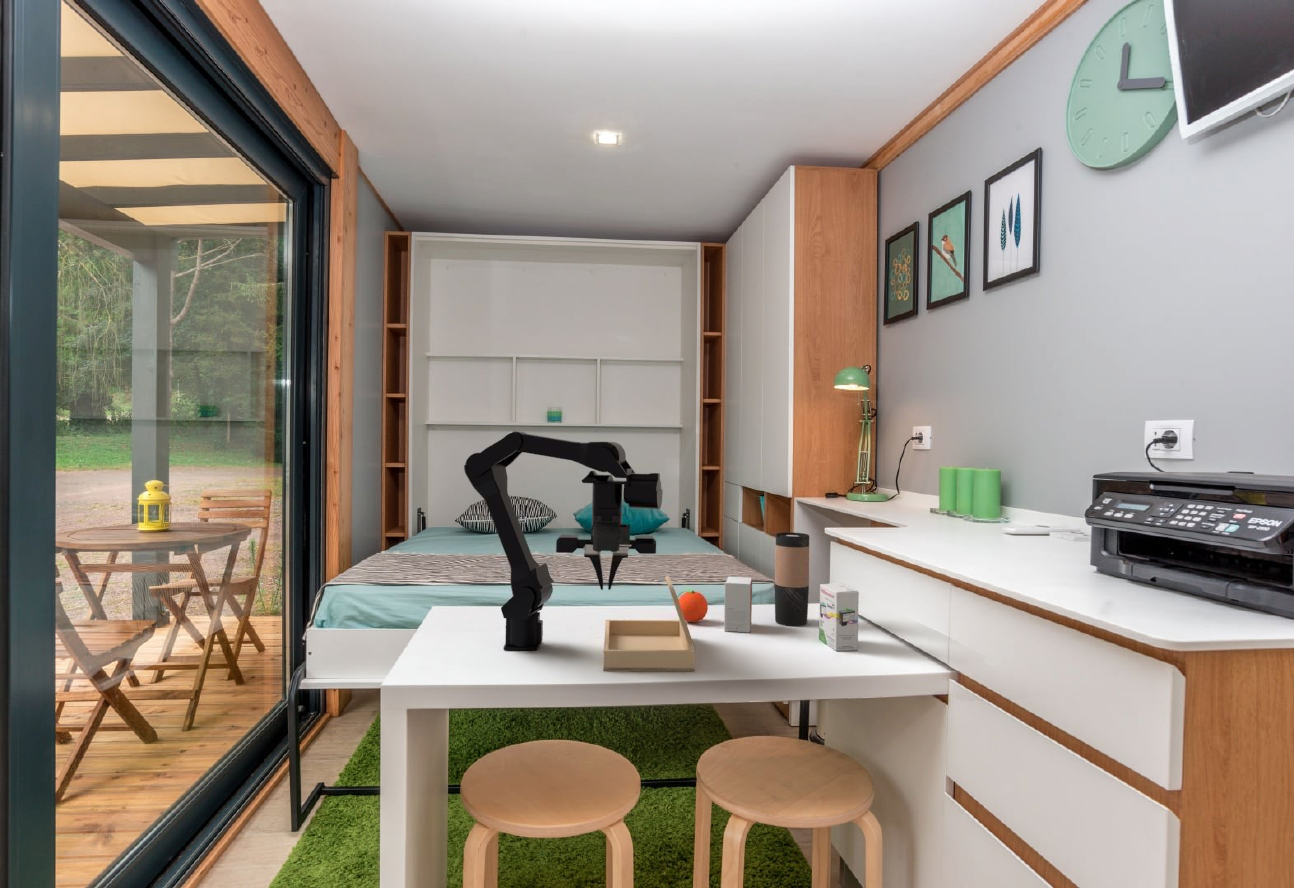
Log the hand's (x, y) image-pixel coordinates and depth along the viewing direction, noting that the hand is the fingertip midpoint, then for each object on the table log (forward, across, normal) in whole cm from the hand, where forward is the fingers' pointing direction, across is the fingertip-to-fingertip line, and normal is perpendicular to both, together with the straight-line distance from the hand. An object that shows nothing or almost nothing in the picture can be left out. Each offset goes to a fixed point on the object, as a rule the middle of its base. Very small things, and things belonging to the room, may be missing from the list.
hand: (605, 589), depth 133 cm
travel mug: (+12, +42, +24) cm, 50 cm away
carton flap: (+8, +16, 0) cm, 18 cm away
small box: (+12, +29, +19) cm, 37 cm away
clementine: (+12, +19, +24) cm, 33 cm away
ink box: (+12, +47, +6) cm, 49 cm away
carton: (+12, +8, 0) cm, 14 cm away
